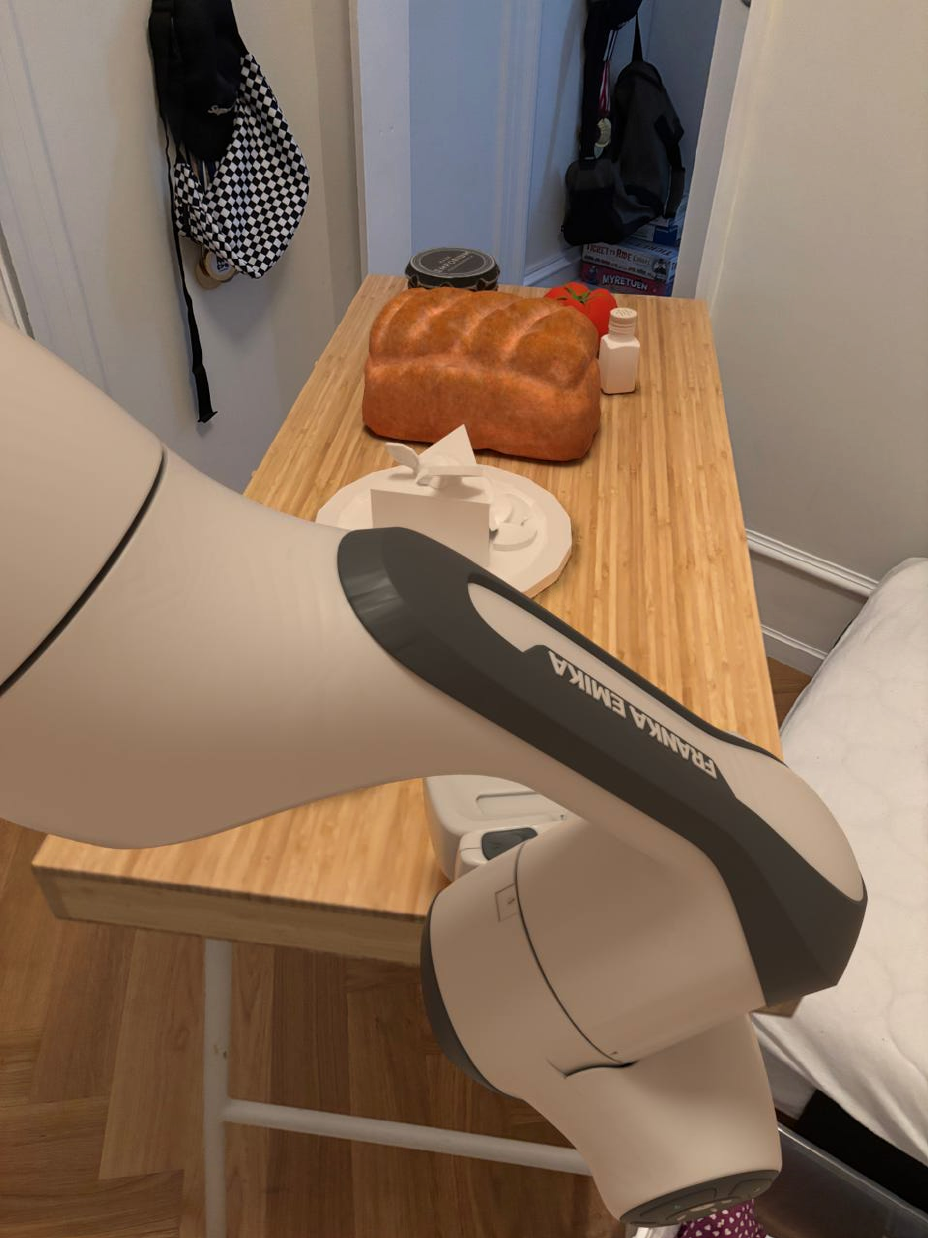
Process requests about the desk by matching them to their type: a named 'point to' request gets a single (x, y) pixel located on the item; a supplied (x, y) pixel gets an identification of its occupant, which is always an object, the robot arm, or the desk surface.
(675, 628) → the desk surface
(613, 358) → the pepper shaker
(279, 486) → the desk surface
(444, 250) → the container
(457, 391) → the bread
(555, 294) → the tomato
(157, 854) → the desk surface
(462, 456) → the dish
